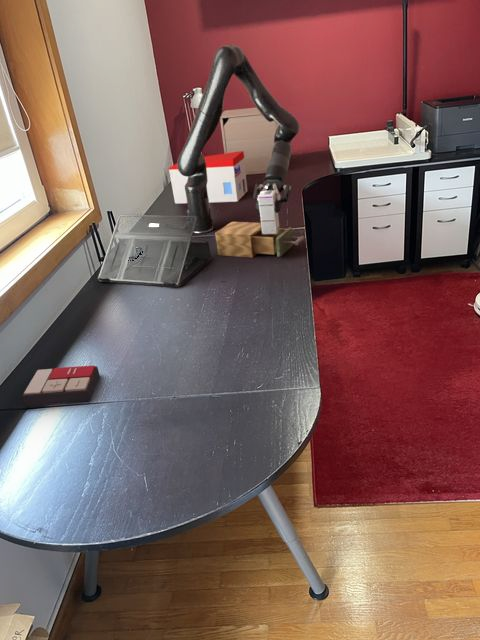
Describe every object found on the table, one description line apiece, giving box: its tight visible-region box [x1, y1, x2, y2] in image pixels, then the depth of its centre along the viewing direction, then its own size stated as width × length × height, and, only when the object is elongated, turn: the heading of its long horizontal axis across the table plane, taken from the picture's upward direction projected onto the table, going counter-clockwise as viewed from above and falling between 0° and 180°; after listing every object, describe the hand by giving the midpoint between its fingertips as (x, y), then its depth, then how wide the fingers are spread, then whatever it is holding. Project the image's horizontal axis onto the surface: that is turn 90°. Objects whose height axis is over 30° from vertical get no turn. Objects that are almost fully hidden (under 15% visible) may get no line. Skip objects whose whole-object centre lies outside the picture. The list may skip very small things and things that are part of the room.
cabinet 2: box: [214, 221, 262, 259], centre depth 195 cm, size 15×14×9 cm
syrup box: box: [258, 190, 281, 234], centre depth 184 cm, size 6×6×14 cm
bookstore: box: [168, 151, 248, 205], centre depth 268 cm, size 21×35×21 cm, turn 77°
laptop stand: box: [96, 214, 212, 288], centre depth 182 cm, size 33×28×18 cm
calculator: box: [21, 365, 100, 409], centre depth 122 cm, size 11×4×15 cm
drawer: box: [251, 226, 305, 258], centre depth 189 cm, size 20×13×7 cm, turn 65°
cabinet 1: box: [219, 107, 279, 176], centre depth 317 cm, size 35×29×34 cm
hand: (267, 211), depth 183 cm, fingers closed on syrup box, 6 cm apart
